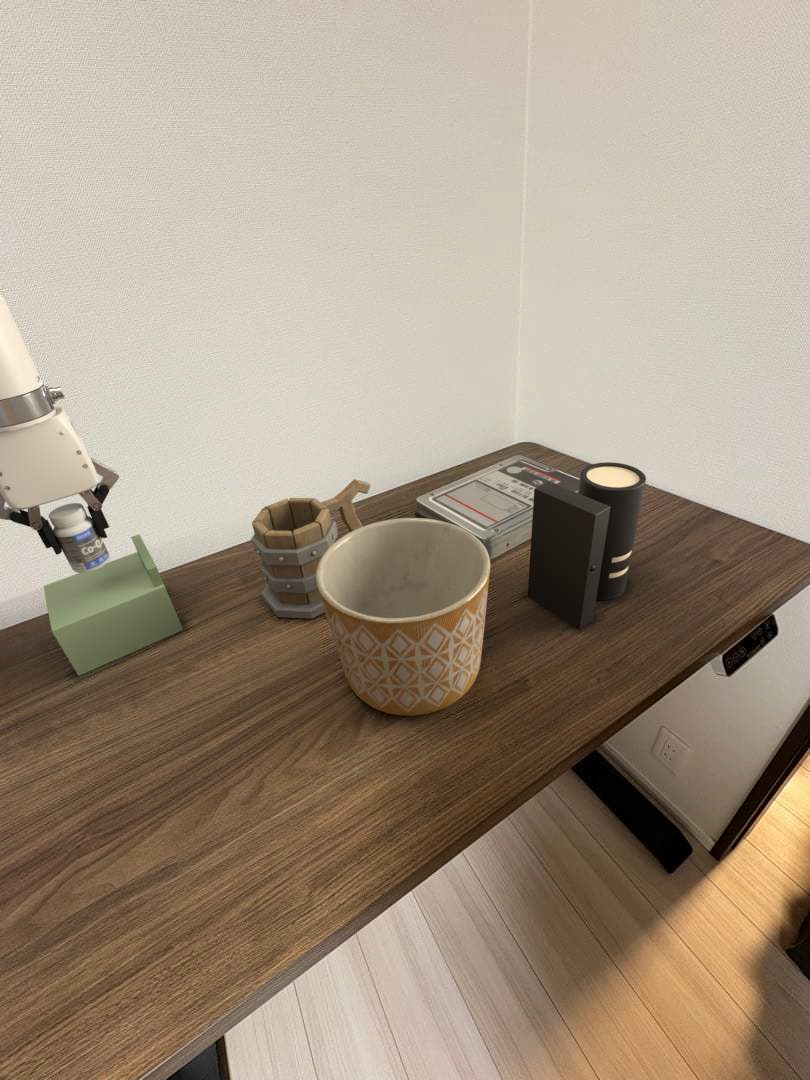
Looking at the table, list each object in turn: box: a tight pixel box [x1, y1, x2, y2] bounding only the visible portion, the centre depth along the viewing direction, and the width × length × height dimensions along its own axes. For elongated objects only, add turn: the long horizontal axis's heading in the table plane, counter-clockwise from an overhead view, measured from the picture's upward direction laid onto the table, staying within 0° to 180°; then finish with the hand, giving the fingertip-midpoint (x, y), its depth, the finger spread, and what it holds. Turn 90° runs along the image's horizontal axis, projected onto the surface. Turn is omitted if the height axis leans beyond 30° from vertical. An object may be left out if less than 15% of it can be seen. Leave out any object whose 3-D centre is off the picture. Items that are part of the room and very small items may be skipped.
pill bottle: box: [48, 502, 111, 574], centre depth 69 cm, size 5×5×8 cm
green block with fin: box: [43, 534, 184, 677], centre depth 75 cm, size 14×12×11 cm
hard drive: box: [414, 454, 580, 561], centre depth 96 cm, size 18×27×4 cm
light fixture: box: [526, 461, 647, 630], centre depth 72 cm, size 10×14×18 cm
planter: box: [316, 517, 491, 717], centre depth 63 cm, size 19×19×16 cm
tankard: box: [250, 478, 372, 620], centre depth 80 cm, size 20×13×15 cm, turn 126°
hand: (80, 540), depth 70 cm, fingers closed on pill bottle, 4 cm apart
